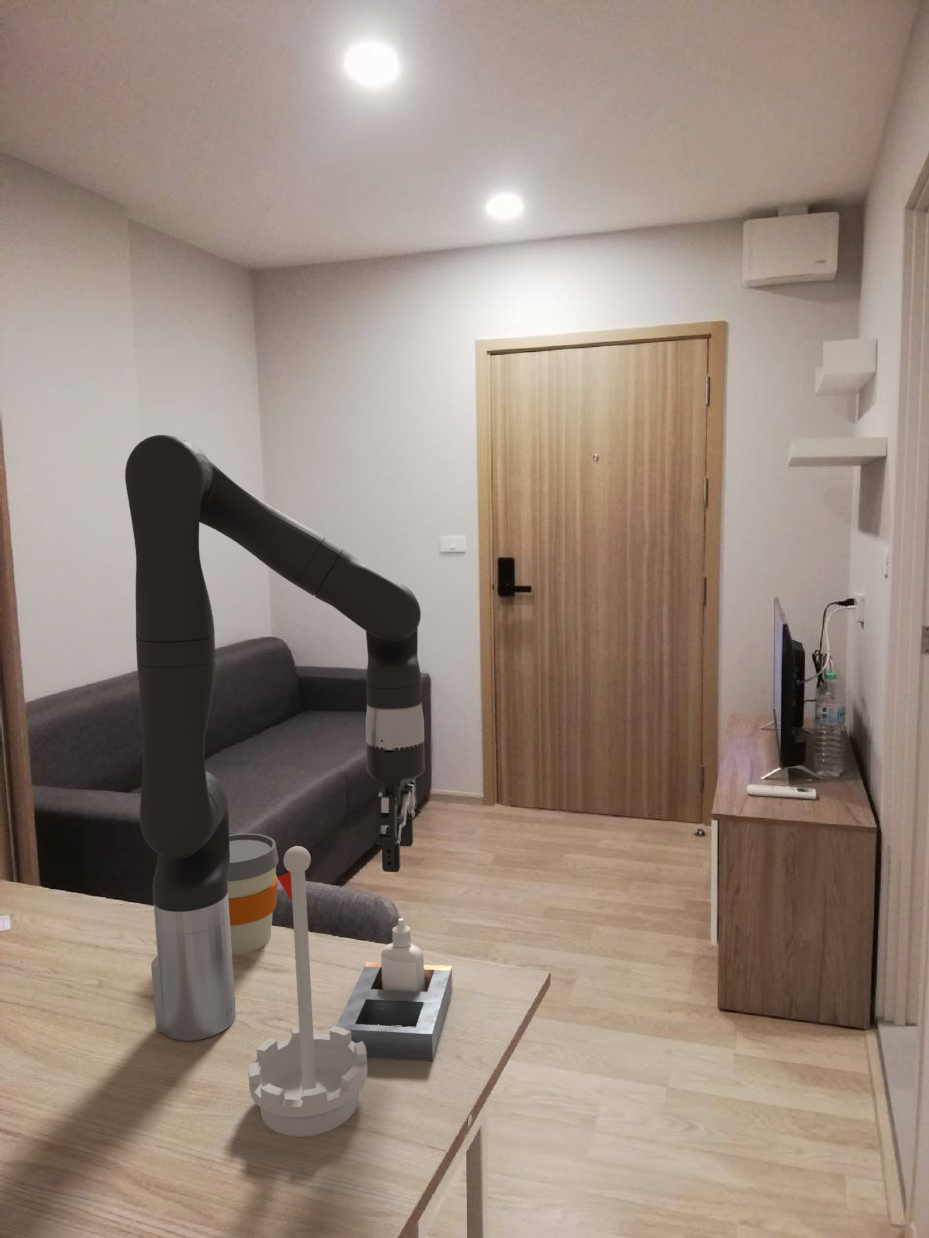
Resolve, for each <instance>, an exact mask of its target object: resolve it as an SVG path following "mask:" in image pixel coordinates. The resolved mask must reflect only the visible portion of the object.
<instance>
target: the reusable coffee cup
mask: <svg viewBox="0 0 929 1238" xmlns="http://www.w3.org/2000/svg"><path fill="white" fill-rule="evenodd" d="M229 845H230V863H229V871H228V902H229V916H230V932H231V947H232V955H240V954H247V953H251V952H254V951H256V950H259V949H261V948H263V947H264V946H266V945H267V944H268V943H269V942H270V940H271V938H272V928H273V927H272V926H273V925H272V924H273V912H274V911H275V909H276V907H277V906H276V905H277V894H278V881H279V880H278V878H277V877H278V876H277V873H276V872H277V869H276V868H277V865H278V863H279V856H278V851H277V843H276V841H275V840H274V838H272V837H270V836H268V835H264V834H261V833H236V834H234V833H233V834H229Z"/></svg>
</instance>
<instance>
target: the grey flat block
mask: <svg viewBox="0 0 929 1238" xmlns="http://www.w3.org/2000/svg"><path fill="white" fill-rule="evenodd" d="M362 969H363V970H362V971H361V973H360V975H359V977H358V979H357V981H356V984H355V986H354V987H353V989H352V992H351V994H350V996H349V998H348V1001H347V1003H346V1005H345V1006H344V1009H343V1010H342V1013H341V1015H340V1017H339V1019H338V1021H337V1024H336V1025H335V1026H336V1027H340V1028H344V1029H346V1030H349V1031H351V1041H353V1042H354V1043H358V1042H362V1041H363V1043H364V1045H365V1047H366V1053H367V1059H368V1058H371V1059H384V1060H385V1059H389V1060H404V1061H405V1060H407V1061H424V1062H433V1061H434V1059H435V1055H436V1051H437V1048H438V1045H437V1044H439V1041H440V1037H441V1034H440V1033H442V1030H443V1025H444V1022H445V1019H446V1015H447V1011H448V1007H449V1004H450V1002H451V998H452V994H453V991H454V990H453V966H452V965H440V964H439V965H438V964H437V965H436V964H435V965H434V964H424V981H425V992H419V991H398V990H382V967H381V962H370V961H369V962H368V961H366V963H365V965H364V967H363V968H362ZM370 1024H373V1025H370ZM378 1024H379V1025H378ZM385 1025H394V1026H385ZM395 1025H401V1026H395ZM403 1026H416V1027H403Z"/></svg>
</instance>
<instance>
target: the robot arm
mask: <svg viewBox="0 0 929 1238" xmlns="http://www.w3.org/2000/svg"><path fill="white" fill-rule="evenodd" d="M124 478H125V481H124V482H125V487H126V488H125V489H126V494H127V499H128V506H129V513H130V517H131V518H130V519H131V526H132V532H133V540H134V548H135V638H136V639H135V643H136V644H135V647H136V649H135V651H136V665H137V666H136V667H137V675H138V676H137V678H138V689H139V690H138V693H139V695H138V696H139V709H140V721H141V723H140V724H141V733H142V742H143V743H142V746H143V752H142V753H143V755H142V756H143V757H142V775H141V791H140V804H139V826H140V830H141V834H142V837H143V838H144V840H145V841H146V844H148V846H149V848H151V849H152V850H153V851H154V852H155V854H156V853H157V856H158V857H157V862H156V868H155V872H154V875H153V879H152V885H151V886H152V899H153V900H152V901H153V912H154V913H153V914H154V915H153V916H154V926H155V939H156V940H155V941H156V953H157V955H156V956H155V957H154V958H153V959H152V961H151V964H150V966H151V968H150V969H151V980H152V981H151V982H152V992H153V993H152V994H153V1006H154V1008H153V1009H154V1020H155V1021H154V1022H155V1031H156V1032H157V1033H163V1034H165V1035H166V1036H167V1037H169V1038H171V1039H173V1040H178V1041H187V1042H189V1041H198V1040H204V1039H208V1038H210V1037H213V1036H215V1035H218V1034H220V1033H222V1032H223V1031H225V1030H226V1029H227V1028H229V1027H230V1026H231V1025H232V1024H233V1022H234V1021H235V1019H236V1012H237V1011H236V996H235V981H234V979H235V978H234V966H233V954H232V947H231V932H230V916H229V902H228V871H229V863H230V845H229V835H230V826H229V825H230V823H229V818H230V817H229V806H228V799H227V796H226V792H225V789H224V788H223V786H222V784H221V782H220V781H219V780H218V779H217V778H216V776H214V775H213V774H211V773H210V772H208V771H206V761H205V760H206V759H205V746H206V745H205V741H206V733H207V727H208V722H209V717H210V711H211V706H212V700H213V694H214V688H215V681H216V662H217V661H216V640H215V639H216V638H215V637H216V636H215V634H216V633H215V622H214V616H213V610H212V604H211V600H210V596H209V591H208V587H207V584H206V580H205V577H204V572H203V569H202V562H201V557H200V556H201V555H200V524H203V525H205V526H208V527H209V528H211V529H214V530H215V531H217V532H218V533H220V534H222V535H224V536H226V537H227V538H229V539H231V540H232V541H234V542H235V543H237V544H238V545H240V546H241V547H242V548H243V549H245V550H246V551H248V552H249V553H250V554H252V555H253V556H254V557H256V559H258V560H259V561H261V562H262V563H263V564H264V565H266V566H267V567H269V568H270V569H271V570H272V571H274V572H275V573H277V574H278V575H280V576H281V577H283V578H284V579H285V580H286V581H288V582H290V583H292V584H293V585H295V586H296V587H297V588H300V589H301V590H303V591H305V592H306V593H308V594H309V595H311V596H313V597H315V598H316V599H318V600H320V601H322V602H324V603H326V604H327V605H330V606H331V607H333V608H334V609H336V610H337V611H338V612H340V613H341V614H342V615H343V616H344V617H346V618H347V619H349V620H350V621H352V622H353V623H354V624H355V625H357V626H358V627H359V628H361V629H363V631H365V637H366V649H367V650H366V651H367V668H366V676H365V677H366V686H365V687H366V716H365V745H366V746H365V748H366V749H365V750H366V772H367V774H368V775H369V776H370V777H371V778H374V779H378V780H380V782H382V787H381V788H382V789H379V791H378V796H377V795H376V796H375V799H374V805H375V807H374V808H375V844H376V845H381V867H382V871H383V872H385V873H398V872H399V871H400V869H401V847H407V848H409V847H411V846H412V845H413V843H414V817H415V816H416V812H415V810H416V809H417V807H418V802H417V800H418V799H417V779H416V778H417V777H419V776H421V775H422V774H424V772H425V770H426V762H425V761H426V758H425V755H426V754H425V721H424V719H425V718H424V712H423V705H422V703H423V702H422V676H421V675H422V674H421V669H420V664H419V659H418V646H419V644H418V642H419V641H418V638H419V637H418V636H419V635H418V634H419V633H418V631H419V630H418V629H419V628H418V627H419V625H420V621H421V617H422V615H421V614H422V613H421V607H420V604H419V601H418V599H417V598H416V595H415V594H414V592H412V590H411V589H409V587H408V586H406V585H404V584H402V583H399V582H394V581H392V580H390V579H388V578H386V577H384V576H383V575H382V574H379V572H376V571H374V570H373V569H371V568H369V567H367V566H365V565H364V564H363V563H361V562H360V560H359V559H358V558H357V557H355V556H354V555H353V554H351V553H350V552H349V551H347V550H345V549H344V548H343V547H341V546H340V545H338V544H337V543H335V542H333V541H331V540H330V539H328V538H326V537H325V536H323V535H322V534H320V533H318V532H317V531H315V530H314V529H313V528H310V527H309V526H307V525H305V524H303V523H301V522H299V521H297V520H296V519H294V518H292V517H291V516H288V515H287V514H285V513H284V512H281V511H280V510H278V509H277V508H275V507H273V506H272V505H270V504H268V503H266V502H265V501H263V500H261V499H260V498H258V497H257V496H256V495H254V494H252V493H251V492H250V491H248V490H247V489H245V488H244V487H243V486H241V485H240V484H239V483H237V482H236V481H235V480H233V479H232V477H230V475H228V474H227V473H225V471H223V470H222V469H221V468H220V467H219V466H218V465H216V463H214V462H213V461H212V460H211V459H210V458H209V457H207V456H206V454H205V453H204V452H203V450H201V449H200V448H199V447H198V446H197V445H195V444H194V443H192V442H190V441H189V440H185V439H182V438H180V437H176V436H173V435H169V434H158V435H153V436H152V435H151V436H149V437H146V438H145V439H143V440H142V441H140V442H139V443H138V444H137V445H135V446H134V448H133V449H132V451H131V452H130V454H129V456H128V458H127V461H126V464H125V469H124ZM388 827H390V830H391V831H390V833H387V828H388Z"/></svg>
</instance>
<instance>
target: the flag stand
mask: <svg viewBox="0 0 929 1238" xmlns="http://www.w3.org/2000/svg"><path fill="white" fill-rule="evenodd" d="M311 860H312V859H311V854H310V851H308V850H307V849H306V848H305V847H303V846H301V845H300V846H299V845H295V846H292V847H290V848H289V849H287V851H286V852H285V854H284V856H283V866H284V868H285V869H286V870H287V871H288V872H286V873H284V874H282V875H281V874H280V875H278V876H277V878H278V881H279V883H280V885H281V886H282V888H283V889H284V891H285V893H286V895H287V896H288V898H289V899H290V901H291V903H292V916H293V918H292V919H293V920H292V921H293V923H292V924H293V935H294V936H293V939H294V940H293V941H294V957H295V958H294V959H295V970H296V971H295V976H296V993H297V1009H298V1011H297V1012H298V1027H294V1028H291V1029H290V1033H291V1034H290V1035H291V1038H288V1039H286V1040H282V1041H280V1042H279V1043H278V1040H276V1039H275V1038H273V1037H270V1038H269V1039H267V1040H266V1041H264V1042H262V1044H260V1046H258V1048H256V1059H255V1061H254V1062H249V1063H248V1069H247V1070H248V1073H247V1074H248V1087H249V1093H250V1097H251V1099H252V1100H253V1102H254V1103H255V1104H256V1105H257V1106H258V1107H260V1116H261V1119H262V1121H263V1123H264V1124H265V1125H266V1126H267V1127H268V1128H270V1130H272V1131H274V1132H276V1133H278V1134H281V1135H284V1136H290V1137H309V1136H311V1137H312V1136H317V1135H319V1134H324V1133H327V1132H329V1131H332V1130H334V1129H336V1128H338V1127H339V1126H341V1125H343V1124H344V1123H345V1122H346V1121H347V1120H349V1119H350V1118H351V1117H352V1116H353V1114H354V1113H355V1112H356V1110H357V1108H358V1106H359V1102H360V1091H361V1090H362V1089H363V1087H364V1086H365V1084H366V1081H367V1076H368V1057H367V1053H366V1047H365V1045H364V1043H363V1041H362V1042H358V1043H354V1042H353V1041H351V1031H349V1030H346V1029H344V1028H340V1027H336V1025H333V1026H332V1028H330V1030H329V1034H328V1033H314V1022H313V1020H314V1018H313V1004H312V1002H313V1001H312V985H311V984H312V982H311V963H310V960H311V959H310V947H309V946H310V945H309V943H310V941H309V925H308V924H309V923H308V909H307V908H308V907H307V903H308V902H307V887H306V871H307V870H308V869H309V867H310V865H311V863H312V861H311Z"/></svg>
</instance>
